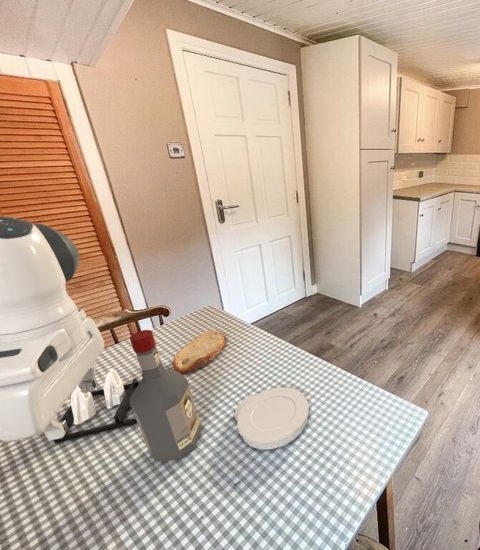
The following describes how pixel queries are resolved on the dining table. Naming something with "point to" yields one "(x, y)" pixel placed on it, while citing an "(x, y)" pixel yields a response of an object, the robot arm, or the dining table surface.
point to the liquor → (163, 404)
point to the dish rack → (119, 423)
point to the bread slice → (199, 352)
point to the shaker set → (84, 401)
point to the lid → (272, 417)
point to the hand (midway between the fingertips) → (76, 410)
